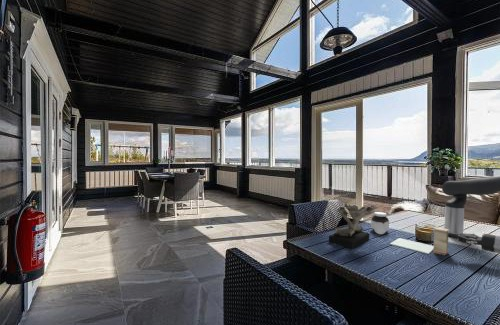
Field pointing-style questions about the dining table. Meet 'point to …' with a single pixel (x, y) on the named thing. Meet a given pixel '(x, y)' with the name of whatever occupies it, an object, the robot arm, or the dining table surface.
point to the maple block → (441, 241)
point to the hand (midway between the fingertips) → (448, 234)
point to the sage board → (413, 245)
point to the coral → (351, 227)
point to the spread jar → (380, 222)
